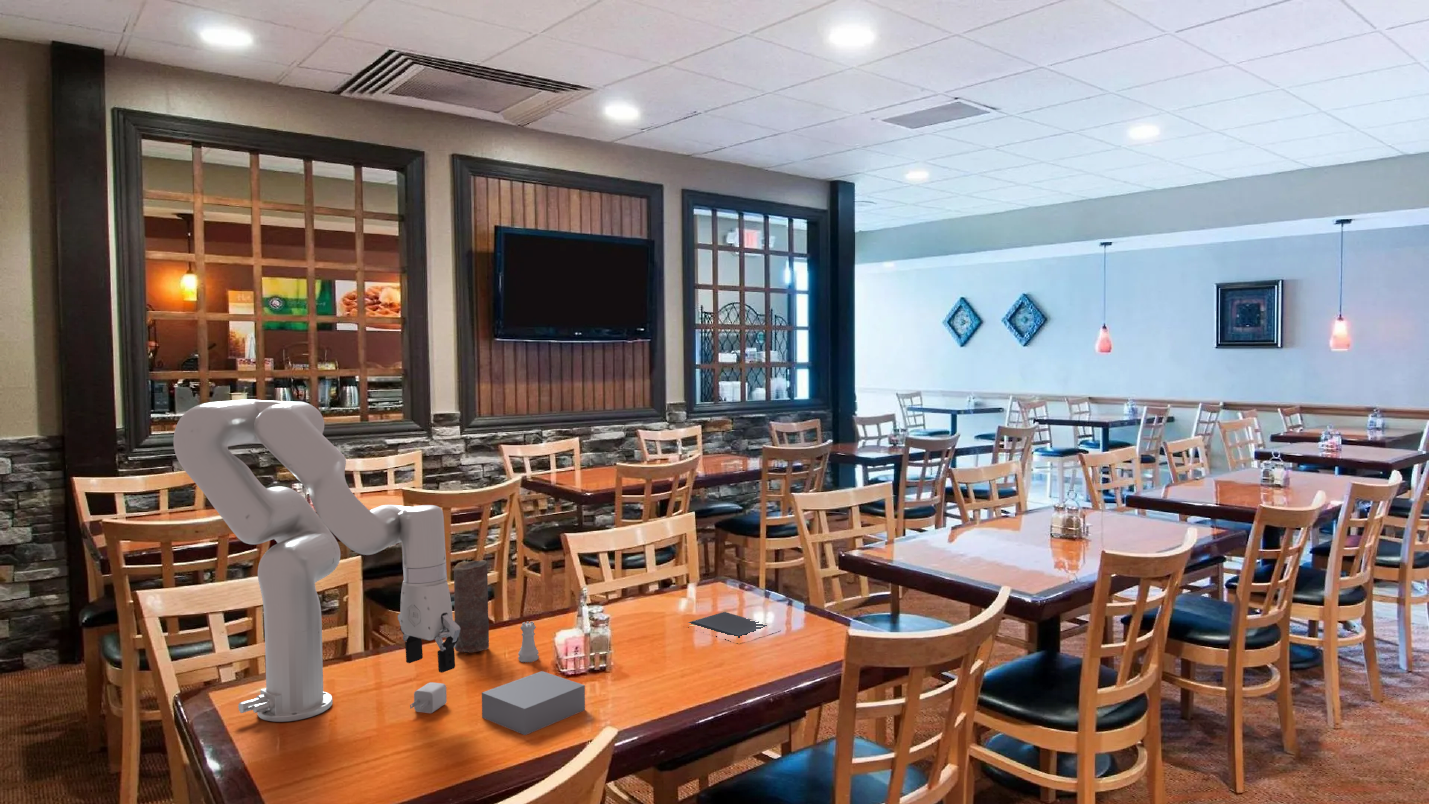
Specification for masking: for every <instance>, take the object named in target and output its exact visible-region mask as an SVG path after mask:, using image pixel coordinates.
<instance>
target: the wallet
mask: <svg viewBox="0 0 1429 804" xmlns="http://www.w3.org/2000/svg"><path fill="white" fill-rule="evenodd" d="M746 618H747V617H744V616H741V615H737V614H733V613H729V612H727V611H723V612H720V613H715V614H713V615H709V616H705V617H703V618H698V619H695V620H692V621H689V622H688V623H691V624H693V625H689V626H695V625H697V626H701V627H704V628H707V629H711V630H714V631H716V632H721V633H725V634H727V635H734V636H738V638H740V636H742V635H747V634H748V633H750V632H754V631H756V629H761V628H763V627H765V626H767V625H763V624H756V623H759V622H760V621H758V622H755V621H756V620H755V621H750V620H752V618H748V619H746ZM756 626H763V627H756ZM704 628H701V629H704Z"/></svg>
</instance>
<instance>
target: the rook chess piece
mask: <svg viewBox="0 0 1429 804" xmlns="http://www.w3.org/2000/svg"><path fill="white" fill-rule="evenodd" d="M536 628H537V626H536V625H535V622H534V621H532V620H531V621H524V622H522V623H521V627H520V630H521V631H522V633H521V636H522V642H521V647H520V650H519V651H518V657H517V658H518V660H519V662H520V663H524V662H525V664H526V662H527V663H528V662H529V663H534V662H537V660H538V659H539V658H540V656H539V650H538V649H537V647H536V645H535V634H536V633H535V629H536ZM533 661H534V662H533Z"/></svg>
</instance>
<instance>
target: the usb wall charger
mask: <svg viewBox="0 0 1429 804" xmlns="http://www.w3.org/2000/svg"><path fill="white" fill-rule="evenodd" d="M446 704H447V686H446V684H445V683H440V682H431V681H430V682H428V683H426V684H424V685H423V686H422V687H420V688H418V689H417V690H415V691H414V693H413V702H412V703H411V704H410V705H409V706H410V708H409V709H414V711H416V713H417V712H418V713H426V714H433V713H434V712H436V711H437V710H438V709H440V708H441V707H443V706H444V705H446Z"/></svg>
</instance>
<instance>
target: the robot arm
mask: <svg viewBox="0 0 1429 804" xmlns="http://www.w3.org/2000/svg"><path fill="white" fill-rule="evenodd" d="M324 419H325V418H324V417H323V415H322V413H321V411H320V410H319V409H318V408H316V406H313V404H310V403H308V402H305V401H285V400H284V401H280V400H261V399H235V400H234V399H232V400H222V401H221V400H219V401H210V402H204V403H201V404H198V405H195V406H194V407H193V406H192V407H191V408H189V409H188V410H187V411H185V412H184V413H183V414H182V416H181V417H180V418H179V420H178V421H177V424H176V426H175V429H174V434H173V450H174V453H175V456H176V460H177V461H178V462H179V465H180V466H181V467H182V469H183V470H184V472H185V473H186V474H187V475H188V477H189V478H190V479H191V480H192V482H193V483H195V485H197V487H198V488H199V490H200V491H202V493H203V494H204V496H206V498H207V499H208V501H209V502H210V504H211V505H212V507H213V508H214V509H215V511H216V512H217V513H218V515H219V516H220V517H221V518H222V520H223V521H224V523H225V524H226V526H228V528H229V529H230V530H231V532H232V533H233V534H234V535H235V536H236V538H237V539H238V540H240V541H241V542H242V543H244V544H248V545H260V544H263V543H267V542H269V541H272V540H274V541H276V544H274V545H272V546H271V547H270V548H269V549H267V550H266V551H265V553H264V554H263V555H262V557H261V558H260V560H259V563H258V566H257V579H258V585H259V589H260V593H261V598H262V605H263V606H262V607H263V620H264V623H263V624H264V625H263V626H264V646H265V647H264V654H265V657H264V658H265V686H266V687H265V688H261V689H260V694H259V695H256V696H255V698H253V699H247V700H243V701H241V702H240V701H239V703H238V706H237V707H238V708H237V709H238V711H239V713H240V714H243V713H246V712H249V711H253V713H254V714H257V716H258V718H259V719H261V720H264V721H267V722H274V723H275V722H276V723H280V722H281V723H283V722H286V723H287V722H294V721H300V720H304V719H308V718H312V717H315V716H317V715H320V714H322V713H324V712H326V711H327V710H328V709H330V708H331V706H332V705H333V696H332V694H330V693H329V692H326V691H324V668H323V667H324V664H323V625H322V622H323V621H322V607H321V602H320V598H319V595H318V593H317V589H316V583H317V582H319V581H321V580H323V579H324V578H326V577H328V576H329V575H330V574H332V573H333V572H334V571H335V570H336V568H338V566H339V563H340V562H341V560H340V559H341V549H340V545H339V543H338V540H339V541H340V542H341V543H342V544H343V545H345V547H346V548H348V549H350V550H351V551H353V552H354V553H357V554H360V555H363V556H365V555H366V556H370V555H374V554H377V553H380V552H381V551H383V550H385V549H387V548H389V547H391V546H394V545H397V544H399V543H401V552H402V553H401V554H402V556H401V557H402V570H403V581H402V584H401V589H400V590H401V593H400V606H399V607H400V611H399V612H400V613H399V614H398V615H397V621H398V622H399V625H400V627H399V629H400V631H401V633H402V634H403V635H402V640H403V641H404V644H405V647H404V648H405V661H406V663H407V664H411V663H414V662H417V661H420V660H422V659H423V657H424V656H423V655H424V653H423V640H426V641H433V640H435V643H436V645H437V646H438V648H439V649H438V650H437V663H438V664H437V667H438V672H439V673H446V672H448V671H451V670H454V669H455V667H456V657H455V647H456V643H457V641H458V636H459V633H460V626H459V625H458V624H457V623H456V622H455V619H454V617H453V616H454V614H453V606H452V598H451V594H450V589H449V588H450V587H449V583H448V581H447V580H448V573H447V571H448V570H447V569H448V568H447V554H446V538H445V535H446V534H445V521H444V520H445V519H444V517H445V516H444V512H443V509H442V508H441V507H440V506H438V505H436V504H435V505H433V504H422V505H421V504H420V505H415V506H407V505H406V506H405V505H397V504H382V505H379V506H376V507H373V508H372V509H369V508H367V507H366V506H365V504H363V503H362V502H361V500H359V498H357V495H355V494H354V493H353V491H352V490H351V489H350V487H349V485H348V483H347V480H346V477H345V471H346V465H347V459H346V457H345V456H344V454H343V453H342V452H341V451H340V450H339V449H338V448H337V446H335V445H334V444H332V442H331V441H330V440H328V438H326V437H325V436H324V434H323V433H324V430H325V420H324ZM244 444H261V445H262V446H264V447H265V449H266V450H268V451H269V453H271V454H272V455H273V457H275V458H276V460H278V461H279V463H281V464H282V466H284V467H285V469H286V470H288V471H289V472H290V473H291V474H292V475H293V476H294V477H295V479H297V481H299V482H300V483H301V484H302V485H303V486H304V487H305V489H306V490H307V492H308V494H309V499H310V502H311V503H312V505H313V507H314V508H313V507H312V505H311V504H310V503H309V501H307V500H306V498H305V497H304V496H303V495H302V494H301V493H299V492H298V491H296V490H294V489H293V488H291V487H288V486H287V487H286V486H281V485H280V486H278V485H277V486H271V487H267V488H266V487H265V486H264V485H263V483H261V482H260V480H258V478H257V477H256V475H255V474H254V473H253V471H252V470H251V468H249V466H248V465H247V464H246V463H245V462H244V461H243V460H241V459H240V458H238V457H237V456H236V455H234V454H233V453H232V452H231V450H229V447H234V446H238V445H239V446H240V445H244ZM336 538H337V539H338V540H337V539H336ZM443 638H445V640H444V641H443Z"/></svg>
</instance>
